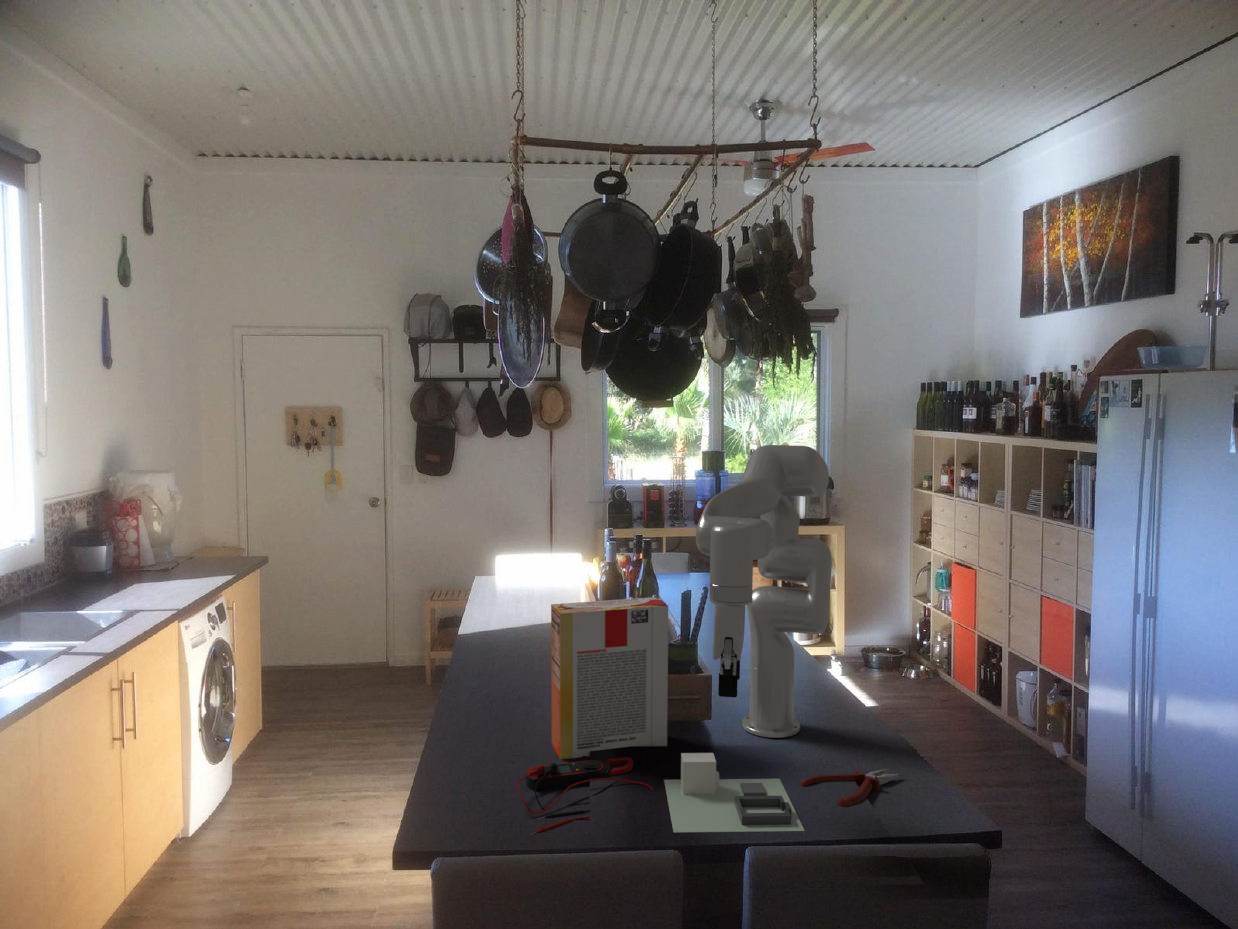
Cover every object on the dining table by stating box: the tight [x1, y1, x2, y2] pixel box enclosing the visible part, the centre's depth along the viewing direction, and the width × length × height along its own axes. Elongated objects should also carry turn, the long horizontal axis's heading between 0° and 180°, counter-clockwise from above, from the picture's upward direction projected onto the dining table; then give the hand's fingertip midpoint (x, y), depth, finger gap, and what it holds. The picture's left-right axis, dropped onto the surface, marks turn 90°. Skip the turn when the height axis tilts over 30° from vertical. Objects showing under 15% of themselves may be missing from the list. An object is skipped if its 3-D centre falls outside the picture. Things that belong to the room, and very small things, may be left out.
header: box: [735, 796, 791, 825], centre depth 154 cm, size 8×9×2 cm
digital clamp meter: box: [516, 756, 654, 836], centre depth 164 cm, size 23×4×25 cm
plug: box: [680, 752, 720, 794], centre depth 164 cm, size 4×7×6 cm, turn 92°
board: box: [663, 778, 805, 834], centre depth 158 cm, size 20×22×2 cm
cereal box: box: [550, 596, 669, 761], centre depth 185 cm, size 23×8×30 cm, turn 107°
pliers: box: [800, 768, 902, 807], centre depth 167 cm, size 12×20×3 cm, turn 122°
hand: (729, 687), depth 159 cm, fingers open, 9 cm apart
